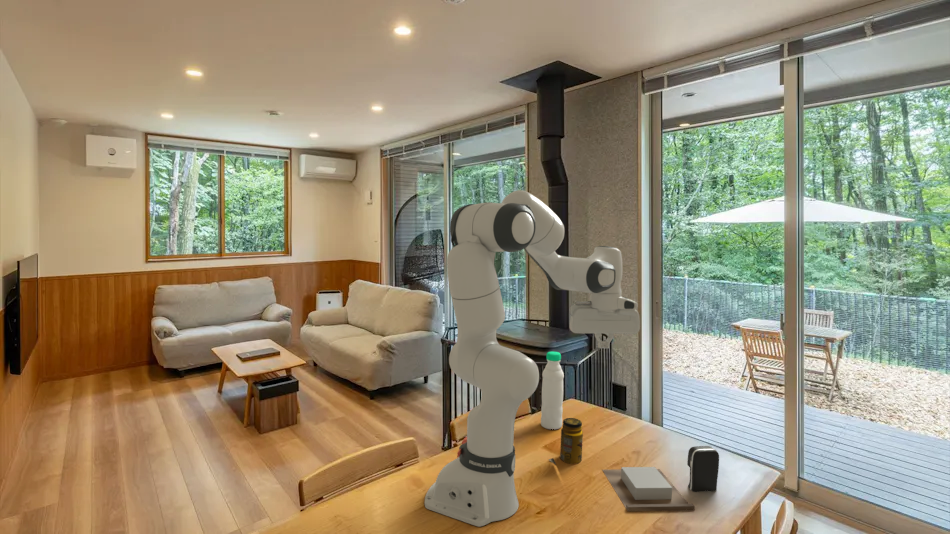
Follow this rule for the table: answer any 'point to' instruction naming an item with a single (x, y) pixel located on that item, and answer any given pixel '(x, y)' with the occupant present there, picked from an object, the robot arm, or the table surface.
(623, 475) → the grey rectangular block
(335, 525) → the table surface
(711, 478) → the battery charger
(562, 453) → the condiment
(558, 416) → the water bottle
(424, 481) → the table surface
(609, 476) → the board
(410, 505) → the table surface
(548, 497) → the table surface
